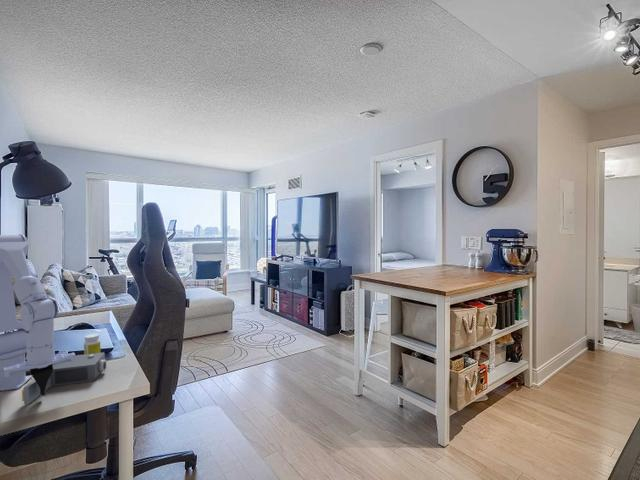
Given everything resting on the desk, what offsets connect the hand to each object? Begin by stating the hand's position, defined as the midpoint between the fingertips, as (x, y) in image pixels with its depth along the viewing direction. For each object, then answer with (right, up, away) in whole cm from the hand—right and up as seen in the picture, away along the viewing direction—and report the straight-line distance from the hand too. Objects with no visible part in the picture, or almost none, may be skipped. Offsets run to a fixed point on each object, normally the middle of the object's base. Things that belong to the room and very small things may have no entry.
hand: (42, 394), depth 89 cm
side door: (-3, -1, +2) cm, 4 cm away
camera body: (0, -1, +14) cm, 14 cm away
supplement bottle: (-5, -1, +27) cm, 27 cm away
